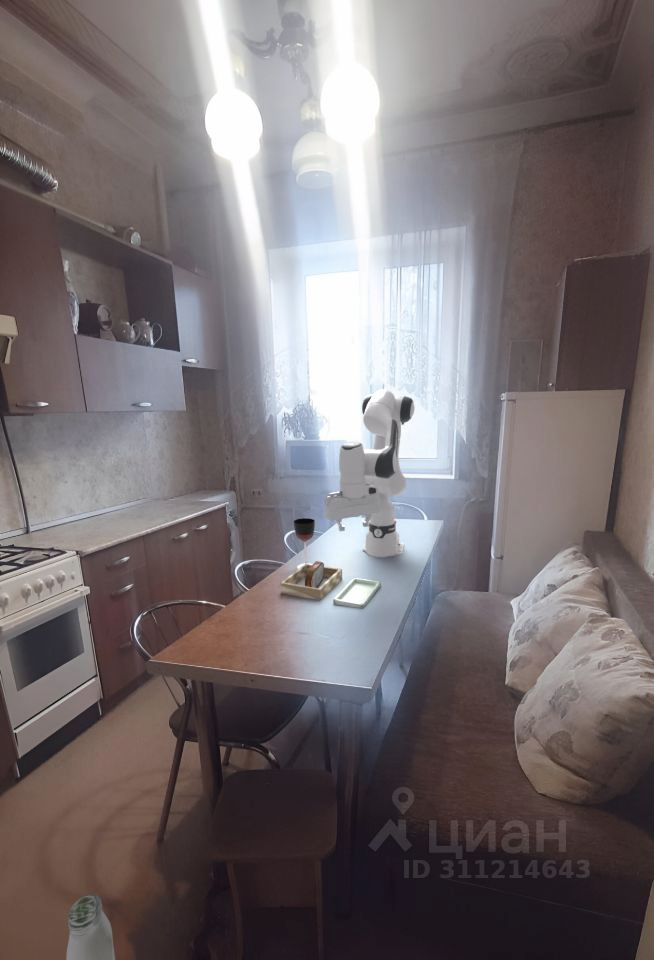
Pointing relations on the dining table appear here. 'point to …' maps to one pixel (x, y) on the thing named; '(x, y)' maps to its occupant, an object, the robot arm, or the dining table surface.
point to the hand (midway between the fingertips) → (353, 528)
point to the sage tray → (357, 593)
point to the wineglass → (304, 532)
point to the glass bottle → (89, 931)
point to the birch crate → (310, 592)
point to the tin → (314, 574)
